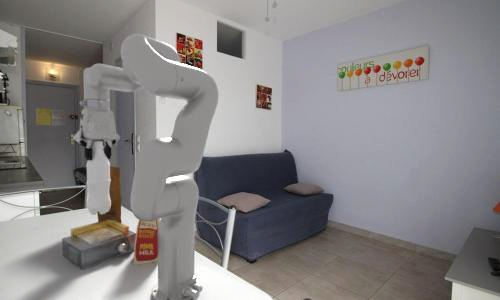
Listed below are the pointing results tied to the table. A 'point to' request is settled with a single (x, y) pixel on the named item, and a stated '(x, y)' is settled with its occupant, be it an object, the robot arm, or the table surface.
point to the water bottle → (98, 180)
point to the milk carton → (146, 242)
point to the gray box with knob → (97, 243)
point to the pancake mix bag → (113, 197)
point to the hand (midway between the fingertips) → (98, 158)
